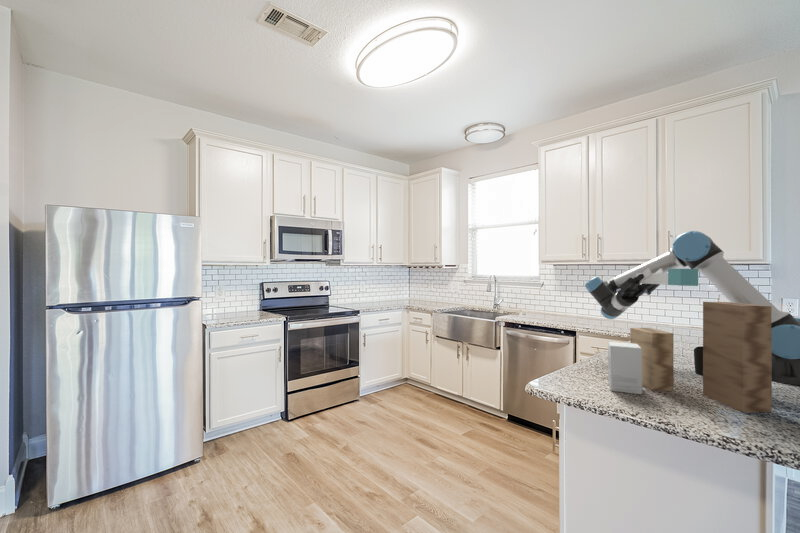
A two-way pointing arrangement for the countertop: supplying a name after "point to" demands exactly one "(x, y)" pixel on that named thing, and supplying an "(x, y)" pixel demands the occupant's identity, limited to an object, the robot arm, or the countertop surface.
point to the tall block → (738, 355)
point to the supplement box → (625, 367)
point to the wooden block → (655, 357)
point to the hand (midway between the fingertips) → (655, 271)
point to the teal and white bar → (674, 277)
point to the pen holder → (698, 360)
